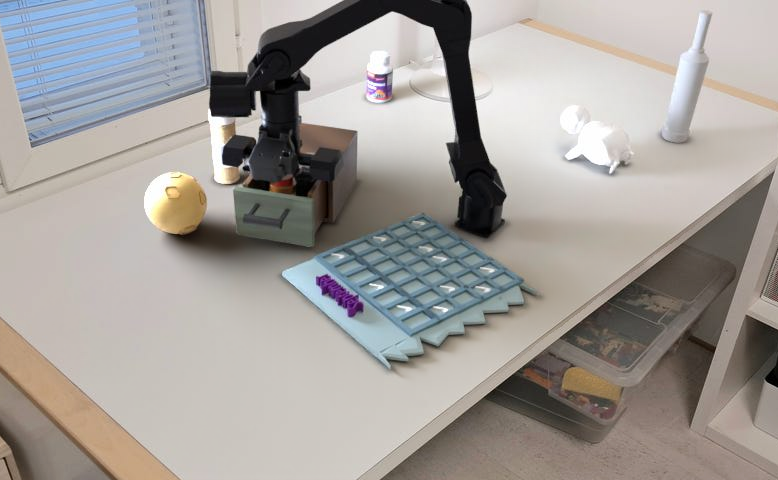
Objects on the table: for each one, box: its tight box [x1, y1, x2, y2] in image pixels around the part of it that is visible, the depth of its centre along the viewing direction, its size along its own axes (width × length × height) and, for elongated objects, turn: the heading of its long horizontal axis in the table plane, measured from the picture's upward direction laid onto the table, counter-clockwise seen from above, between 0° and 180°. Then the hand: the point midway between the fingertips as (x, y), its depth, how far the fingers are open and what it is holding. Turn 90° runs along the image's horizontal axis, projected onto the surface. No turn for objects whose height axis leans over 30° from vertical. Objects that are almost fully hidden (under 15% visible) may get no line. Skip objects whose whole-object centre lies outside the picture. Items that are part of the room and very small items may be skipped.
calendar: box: [281, 212, 539, 370], centre depth 132 cm, size 27×28×2 cm
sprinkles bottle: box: [207, 108, 241, 185], centre depth 153 cm, size 5×5×14 cm
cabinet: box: [296, 122, 359, 224], centre depth 150 cm, size 15×14×10 cm
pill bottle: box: [366, 49, 394, 104], centre depth 183 cm, size 5×5×10 cm
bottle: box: [661, 9, 713, 144], centre depth 166 cm, size 5×5×25 cm
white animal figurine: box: [560, 104, 635, 175], centre depth 165 cm, size 9×8×15 cm
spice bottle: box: [269, 174, 296, 196], centre depth 140 cm, size 4×4×6 cm
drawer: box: [232, 169, 329, 248], centre depth 141 cm, size 18×13×8 cm
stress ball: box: [144, 171, 208, 236], centre depth 141 cm, size 10×10×10 cm
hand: (284, 204), depth 142 cm, fingers closed on spice bottle, 4 cm apart
